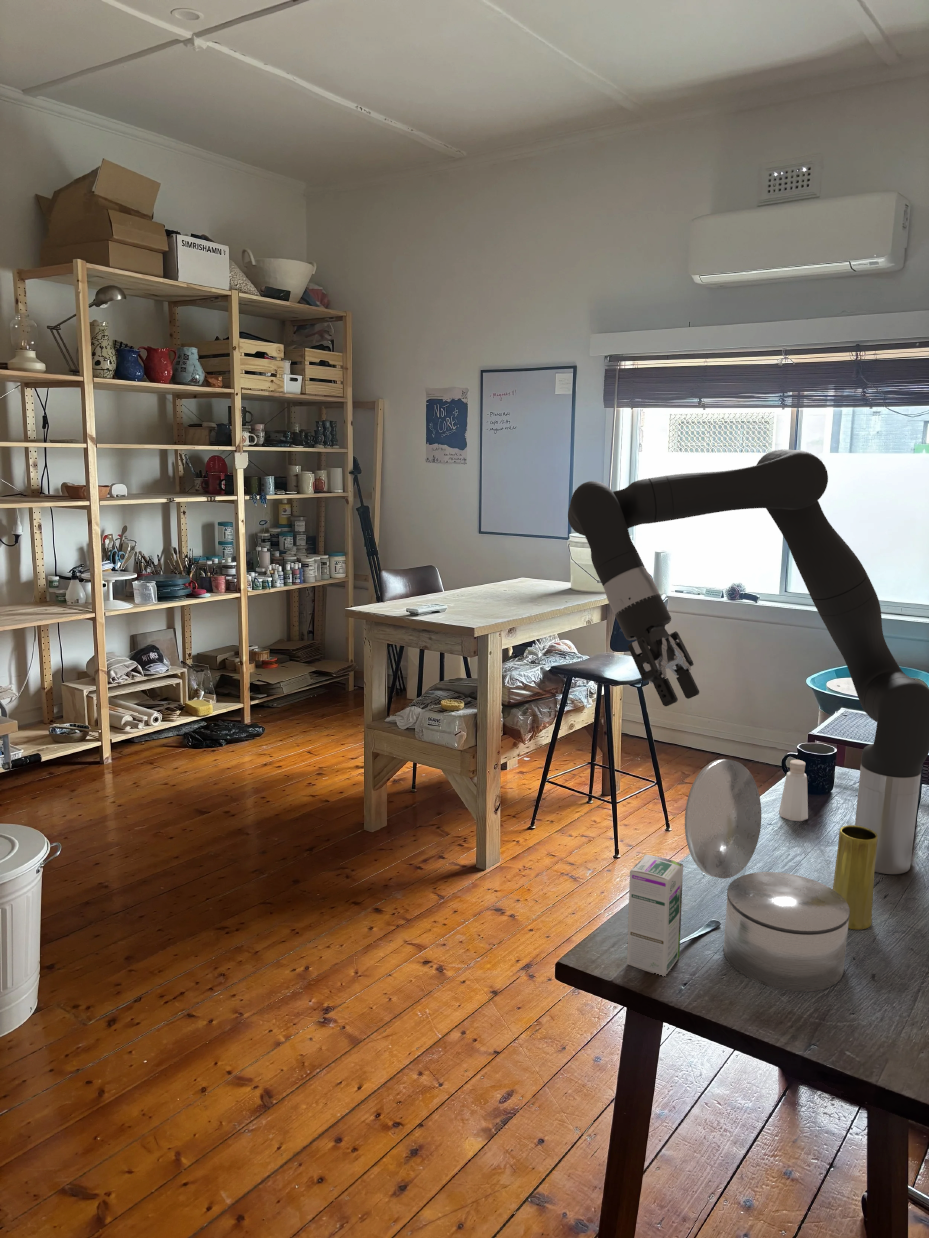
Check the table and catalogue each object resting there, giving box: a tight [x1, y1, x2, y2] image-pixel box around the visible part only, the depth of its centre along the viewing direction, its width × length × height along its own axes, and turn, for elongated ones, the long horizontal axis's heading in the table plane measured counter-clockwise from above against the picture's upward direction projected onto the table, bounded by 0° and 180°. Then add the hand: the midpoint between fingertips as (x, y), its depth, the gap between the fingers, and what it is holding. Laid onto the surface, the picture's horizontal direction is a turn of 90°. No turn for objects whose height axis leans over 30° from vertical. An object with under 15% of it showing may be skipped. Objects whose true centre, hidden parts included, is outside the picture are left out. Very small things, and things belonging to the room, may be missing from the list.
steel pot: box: [723, 871, 850, 993], centre depth 127 cm, size 16×16×9 cm
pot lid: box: [684, 758, 762, 880], centre depth 133 cm, size 17×17×3 cm
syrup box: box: [626, 854, 684, 977], centre depth 125 cm, size 6×6×14 cm
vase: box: [832, 824, 878, 931], centre depth 137 cm, size 6×6×14 cm
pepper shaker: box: [778, 759, 809, 822], centre depth 174 cm, size 5×5×11 cm
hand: (682, 700), depth 136 cm, fingers open, 8 cm apart
